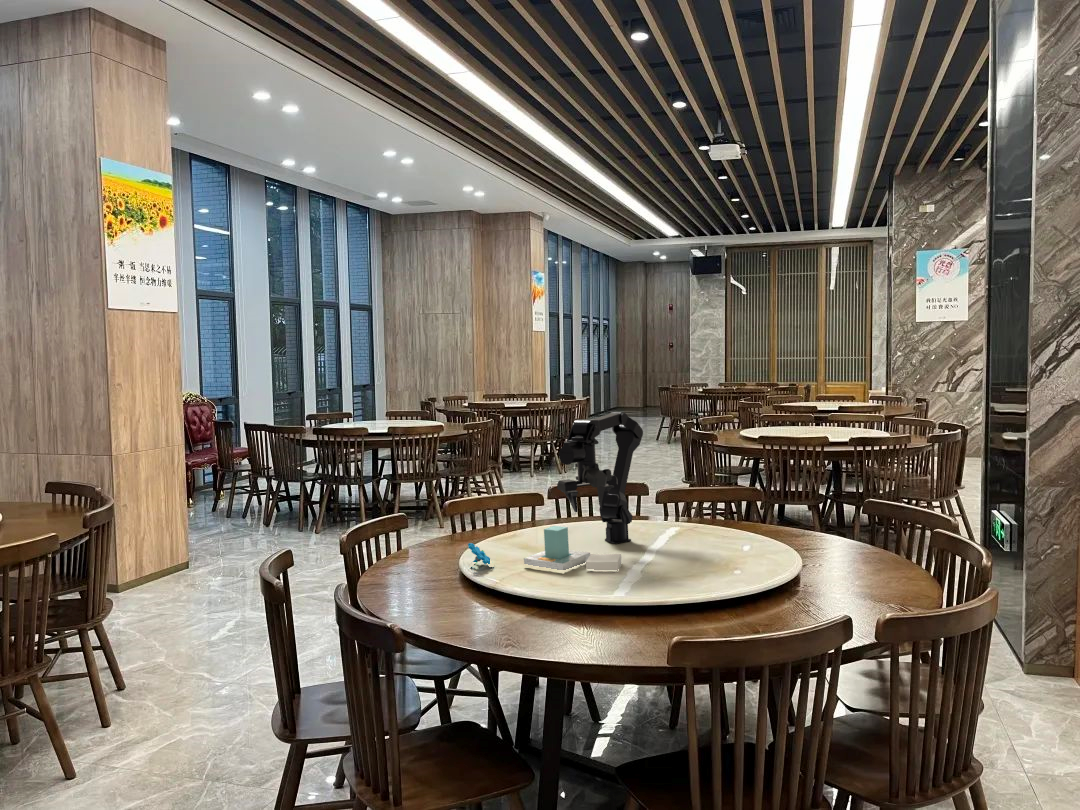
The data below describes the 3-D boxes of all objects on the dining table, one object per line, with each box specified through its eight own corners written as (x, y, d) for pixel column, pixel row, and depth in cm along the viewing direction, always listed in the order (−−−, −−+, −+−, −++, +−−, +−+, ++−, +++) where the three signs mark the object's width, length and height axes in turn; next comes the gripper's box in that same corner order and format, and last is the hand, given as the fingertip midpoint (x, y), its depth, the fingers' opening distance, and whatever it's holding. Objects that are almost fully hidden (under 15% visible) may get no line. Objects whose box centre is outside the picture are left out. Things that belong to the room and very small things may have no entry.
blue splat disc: (493, 566, 256) (468, 542, 257) (479, 581, 256) (454, 557, 257) (498, 561, 267) (474, 539, 268) (485, 576, 267) (461, 553, 268)
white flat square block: (591, 563, 260) (590, 553, 260) (621, 563, 258) (621, 553, 258) (586, 572, 251) (585, 561, 251) (618, 572, 249) (617, 561, 249)
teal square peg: (555, 562, 263) (553, 525, 263) (569, 564, 260) (567, 527, 260) (545, 566, 259) (543, 529, 259) (559, 568, 256) (557, 530, 256)
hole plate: (552, 557, 270) (551, 547, 270) (590, 562, 261) (590, 551, 261) (524, 568, 259) (523, 557, 258) (563, 574, 250) (562, 562, 250)
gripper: (573, 466, 261) (575, 518, 262) (626, 459, 270) (628, 509, 271) (555, 462, 271) (557, 512, 272) (606, 456, 280) (608, 504, 281)
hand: (588, 510), depth 274 cm, fingers open, 9 cm apart
